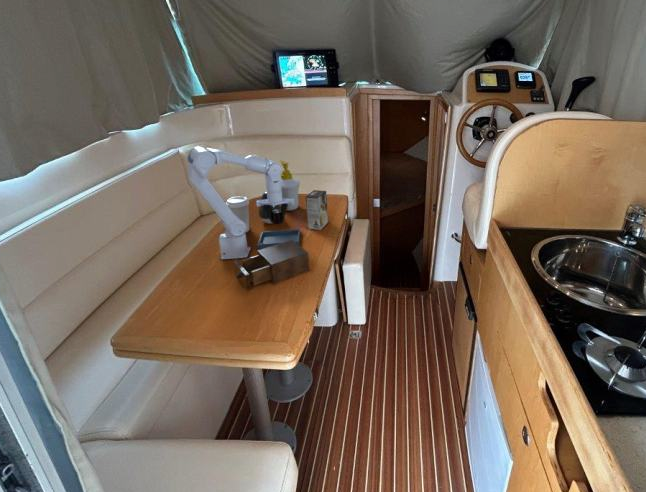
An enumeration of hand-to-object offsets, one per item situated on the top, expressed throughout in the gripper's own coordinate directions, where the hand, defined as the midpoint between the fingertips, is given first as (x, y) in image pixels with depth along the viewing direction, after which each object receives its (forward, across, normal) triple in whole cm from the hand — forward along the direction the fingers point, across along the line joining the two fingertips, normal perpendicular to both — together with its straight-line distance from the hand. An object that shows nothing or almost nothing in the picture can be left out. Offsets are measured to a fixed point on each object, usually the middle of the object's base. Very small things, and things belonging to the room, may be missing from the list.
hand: (277, 220), depth 150 cm
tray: (+10, 0, 0) cm, 10 cm away
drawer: (+9, -4, -28) cm, 30 cm away
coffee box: (+10, +16, +14) cm, 23 cm away
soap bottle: (+10, +1, +38) cm, 39 cm away
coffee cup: (+10, -18, +13) cm, 25 cm away
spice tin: (+1, 0, 0) cm, 1 cm away
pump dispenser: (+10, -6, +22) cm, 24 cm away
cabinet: (+10, +4, -23) cm, 26 cm away
